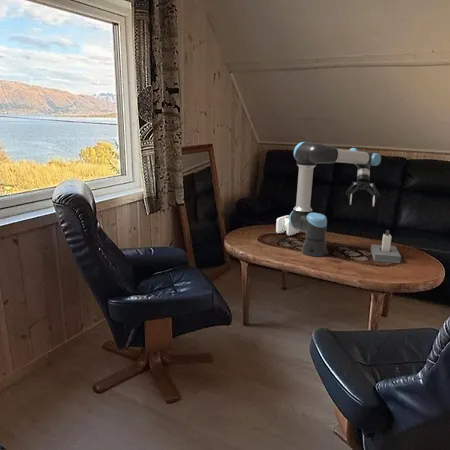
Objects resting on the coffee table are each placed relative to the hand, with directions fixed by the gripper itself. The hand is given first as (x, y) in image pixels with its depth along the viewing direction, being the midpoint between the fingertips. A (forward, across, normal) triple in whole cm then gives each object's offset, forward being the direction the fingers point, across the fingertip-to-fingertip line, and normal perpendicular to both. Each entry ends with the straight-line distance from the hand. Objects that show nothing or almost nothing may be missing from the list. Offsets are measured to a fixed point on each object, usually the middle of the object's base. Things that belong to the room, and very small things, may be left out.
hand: (362, 204), depth 259 cm
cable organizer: (+8, +46, -32) cm, 56 cm away
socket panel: (+30, -15, -8) cm, 34 cm away
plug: (+29, -15, -8) cm, 34 cm away
